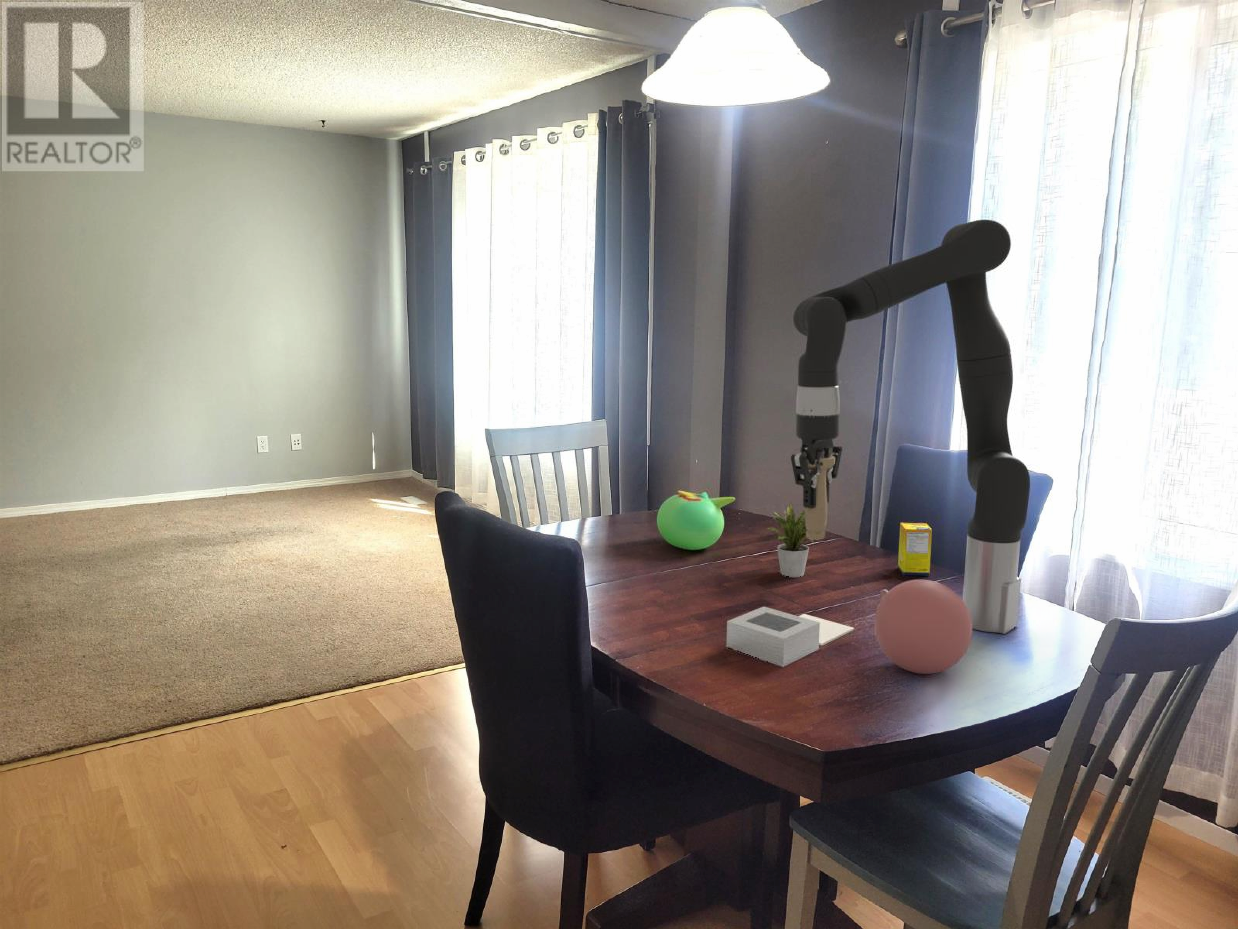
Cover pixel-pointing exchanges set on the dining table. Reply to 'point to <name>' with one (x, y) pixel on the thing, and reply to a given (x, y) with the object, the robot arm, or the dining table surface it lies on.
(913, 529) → the supplement box
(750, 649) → the collar
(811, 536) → the handle
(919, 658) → the balloon
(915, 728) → the dining table surface
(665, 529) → the toy bird
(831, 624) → the mat
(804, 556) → the house plant
